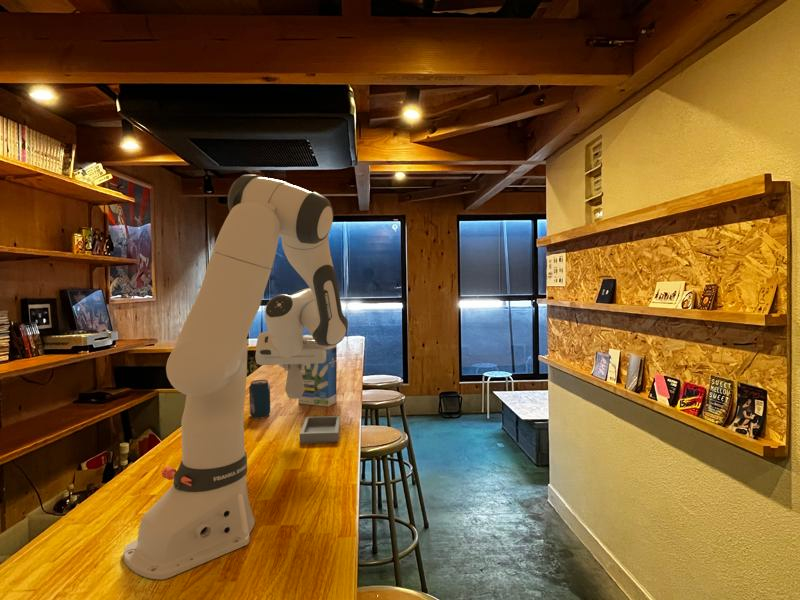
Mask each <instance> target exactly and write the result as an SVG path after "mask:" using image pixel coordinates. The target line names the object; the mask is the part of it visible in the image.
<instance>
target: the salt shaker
mask: <svg viewBox="0 0 800 600" xmlns="http://www.w3.org/2000/svg"><path fill="white" fill-rule="evenodd" d="M298 366H299V364H289V370H288V371H287V375H286V382H285V387H284V388H285V389H284V391H285V393H286V395H287V398H288V399H290V400H291V399H292V400H293V399H294V400H295V399H297V400H298V398H301V397H302V394H303V392H304V390H305V388H304V384H303V379H302V374H301V370H300V369H299V368H298Z"/></svg>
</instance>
